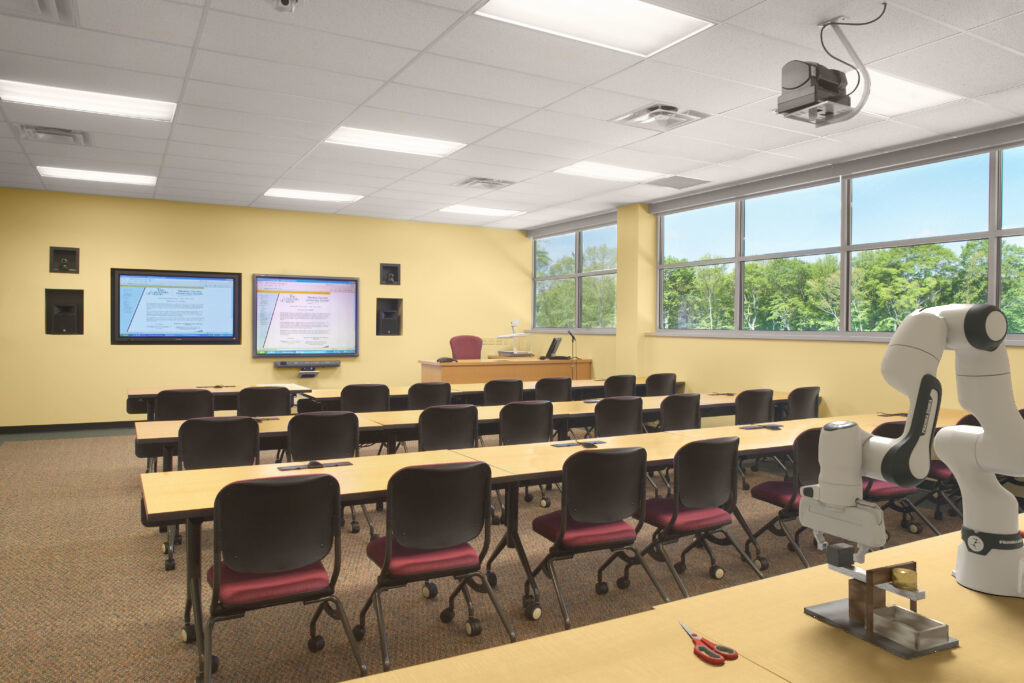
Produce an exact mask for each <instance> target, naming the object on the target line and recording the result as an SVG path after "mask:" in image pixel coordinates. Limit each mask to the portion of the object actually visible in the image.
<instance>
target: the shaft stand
mask: <svg viewBox="0 0 1024 683" xmlns="http://www.w3.org/2000/svg"><path fill="white" fill-rule="evenodd" d="M895 568H903V569H909V570H912V571H915V572H916V573H917V571H918V570H917V561H915V560H911V561H906V562H902V563H895V564H891V565H885V566H881V567H875V568H871V569H865V570H866V583H865V582H863V581H860V580H857V579H855V578H850V579H848V580H847V581H848V597H845V598H841V599H837V600H832V601H828V602H823V603H819V604H813V605H809V606H806V607H803V613H805V612H806V614H807V613H808V614H807V615H809V614H810V615H809V616H811V615H812V616H811V617H814V616H815V617H814V618H816V617H817V618H816V619H818V618H819V619H818V620H820V619H821V620H820V621H822V620H823V622H824V621H825V622H824V623H826V622H827V624H829V625H831V626H833V627H835V628H837V629H839V630H842V631H844V632H846V633H848V634H851V635H852V636H854V637H857V638H859V639H861V640H863V641H866V642H867V643H869V644H872V645H874V646H875V647H879V648H880V649H882V648H883V650H885V651H887V652H889V653H891V654H893V655H895V656H898V657H899V658H902V659H904V660H906V659H907V661H908V659H909V660H913V659H915V658H918V657H919V656H920V657H923V656H926V655H925V654H927V655H930V654H933V653H932V652H934V653H936V652H935V651H937V652H941V651H944V650H948V649H951V648H954V646H955V647H958V646H960V644H959V642H960V641H959V639H957V638H954V637H951V636H950V633H949V629H950V628H949V624H946V623H944V622H941V621H939V620H936V619H933V618H931V617H928V616H926V615H923V614H920V613H918V607H917V606H918V602H917V601H914V600H911V599H909V609H908V608H905V607H902V606H900V605H898V604H889V605H887V600H886V598H887V595H886V591H887V590H884V589H882V588H879V587H876V586H874V585H878V584H883V583H888V582H892V569H895ZM917 574H918V573H917ZM940 650H941V651H940ZM929 653H930V654H929ZM920 657H919V658H920ZM912 658H913V659H912Z"/></svg>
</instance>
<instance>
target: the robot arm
mask: <svg viewBox="0 0 1024 683" xmlns="http://www.w3.org/2000/svg"><path fill="white" fill-rule="evenodd" d="M1008 327H1009V324H1008V319H1007V316H1006V315H1005V313H1004V312H1003V311H1002V309H1001V308H1000V307H998V306H997V305H993V304H989V303H982V302H981V303H980V302H979V303H951V304H946V305H939V306H923V307H921V308H918V309H915V310H913V311H912V312H911V313H909V314H907V315H906V316H905V317H904V318H903V320H902V321H901V322H900V324H899V325H898V327H897V328H896V330H895V331H894V334H893V335H892V337H891V339H890V341H889V343H888V345H887V348H886V349H885V352H884V354H883V356H882V360H881V362H880V372H881V375H882V377H883V379H884V381H885V382H886V383H887V384H888V385H889V386H890V387H891V388H893V389H894V390H896V391H898V392H899V393H900V394H902V395H904V396H905V397H906V396H907V398H908V400H909V407H908V413H907V418H906V422H905V424H904V429H903V432H902V434H901V436H899V437H897V438H891V437H885V436H880V435H874V434H873V433H871V432H868V431H866V430H864V429H863V428H861V427H860V425H859V424H858V423H857V422H855V421H853V420H852V421H851V420H838V421H837V420H836V421H831V422H827V423H826V424H824V425H823V426H822V428H821V429H820V433H819V441H818V463H819V466H820V471H819V475H818V483H814V484H811V485H804V486H800V487H799V492H800V496H801V498H800V499H799V505H798V506H799V507H798V521H799V522H800V525H802V527H806V528H809V529H812V534H813V536H814V538H815V540H816V542H817V550H819V551H823V552H827V545H829V542H827V541H826V539H825V537H824V534H825V533H826V534H828V535H832V536H834V537H838V538H840V539H844V540H847V541H850V542H853V543H856V547H857V549H858V551H857V553H854V554H853V558H854V559H853V561H854V563H857V564H859V565H860V564H864V563H865V558H866V557H865V556H866V554H867V553H868V551H869V550H870V548H872V549H873V548H880V547H884V545H885V544H886V542H887V534H886V526H885V521H884V520H885V519H884V510H883V509H882V508H881V507H880V506H879V505H878V504H877V503H876V502H874V501H868V500H865V499H863V497H864V496H863V489H864V488H863V479H862V477H867V478H870V479H874V480H878V481H883V482H886V483H889V484H891V485H895V486H897V487H901V488H903V489H911V488H915V487H917V486H919V485H920V484H922V483H923V482H924V481H925V480H926V479H927V478H928V476H929V474H930V471H931V468H932V447H933V450H934V452H935V455H936V456H937V458H938V459H939V460H940V461H941V462H943V463H944V465H945V466H946V467H947V468H948V469H949V471H951V473H952V474H953V476H954V478H955V479H956V482H957V484H958V486H959V490H960V494H961V499H962V511H963V512H962V514H963V515H962V516H963V518H962V519H963V520H962V522H963V523H962V524H961V527H960V528H961V529H960V534H961V535H960V536H961V537H960V539H961V540H962V541H961V542H959V543H958V545H957V551H956V561H955V568H953V569H951V572H950V573H951V575H952V576H953V577H955V581H956V582H957V583H958V584H960V585H961V586H964V587H966V588H967V589H971V590H974V591H978V592H982V593H986V594H992V595H996V596H997V595H998V596H1005V597H1016V598H1017V597H1018V598H1024V530H1022V529H1019V502H1018V500H1017V498H1016V496H1015V495H1014V493H1012V492H1010V491H1009V490H1008V489H1006V488H1005V487H1004V486H1002V484H1000V482H999V480H998V478H997V476H996V474H998V475H1002V476H1009V477H1014V478H1024V418H1023V417H1022V415H1021V413H1020V412H1019V409H1018V407H1017V405H1016V401H1015V396H1014V391H1013V385H1012V374H1011V367H1010V366H1011V365H1010V359H1009V354H1008V351H1007V347H1006V344H1005V341H1004V340H1005V338H1006V337H1007V334H1008V329H1009V328H1008ZM944 351H954V352H955V353H954V372H955V381H956V382H955V383H956V392H957V401H958V404H959V406H960V407H961V408H962V409H963V410H964V411H966V412H967V413H969V414H971V415H972V416H973V417H974V418H976V420H977V421H978V423H979V424H980V426H979V425H978V426H976V425H969V424H959V425H948V426H943V427H942V428H941V429H939V430H938V431H937V433H936V435H935V432H936V428H937V424H938V420H939V414H940V409H941V403H942V399H943V398H942V397H943V388H942V383H941V381H940V380H939V379H938V378H937V372H938V368H939V365H940V362H941V360H942V356H943V354H944Z"/></svg>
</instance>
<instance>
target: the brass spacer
mask: <svg viewBox="0 0 1024 683" xmlns="http://www.w3.org/2000/svg"><path fill="white" fill-rule="evenodd" d="M892 586H893V587H895V588H897V589H901V590H906V591H914V590H917V588H918V573H916V572H915V571H912V570H909V569H903V568H895V569H892Z"/></svg>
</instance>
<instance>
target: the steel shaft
mask: <svg viewBox="0 0 1024 683" xmlns="http://www.w3.org/2000/svg"><path fill="white" fill-rule="evenodd" d="M853 554H855V546H854V545H851V544H849V543H844V542H839V543H833V544H828V545H827V551H826V564H827V566H828V567H827V569H828V570H830V571H834V572H837V573H839V574H842V575H844V576H846V577H847V576H848V577H850V578H851V579H853V578H855V579H857V580H860V581H863V582H865V583H866V570H867V569H864V568H860V567H859V566H856V565H855V562H854V561H853V559H854V558H853ZM874 586H876V587H879V588H882V589H884V590H886V591H888V592H889V593H892V594H894V595H898V596H901V597H903V598H906V599H908V600H910V599H911V600H914V601H921V600H925V599H926V590H924V589H920V588H918V587H917V590H914V591H906V590H901V589H897V588H895V587H893V586H892V582H888V583H883V584H878V585H874Z"/></svg>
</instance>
